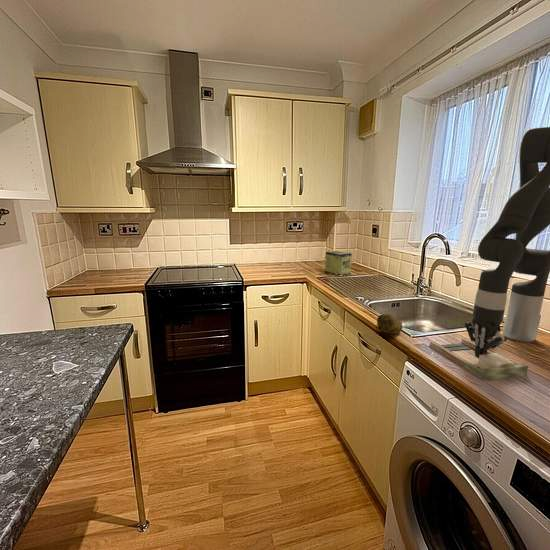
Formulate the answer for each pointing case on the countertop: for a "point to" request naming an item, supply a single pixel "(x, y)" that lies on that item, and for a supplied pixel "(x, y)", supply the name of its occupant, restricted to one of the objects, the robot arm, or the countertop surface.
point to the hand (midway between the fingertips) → (479, 357)
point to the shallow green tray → (486, 374)
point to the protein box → (338, 262)
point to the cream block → (493, 361)
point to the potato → (389, 324)
